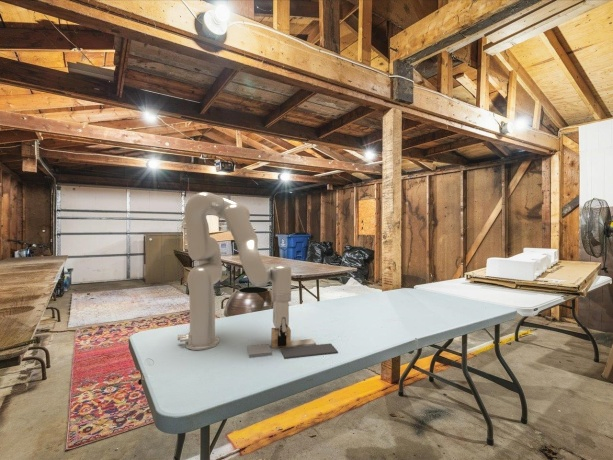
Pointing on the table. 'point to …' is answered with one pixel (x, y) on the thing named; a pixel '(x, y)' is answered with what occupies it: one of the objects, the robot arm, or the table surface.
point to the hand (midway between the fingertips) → (281, 343)
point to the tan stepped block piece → (288, 339)
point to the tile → (259, 350)
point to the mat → (308, 351)
